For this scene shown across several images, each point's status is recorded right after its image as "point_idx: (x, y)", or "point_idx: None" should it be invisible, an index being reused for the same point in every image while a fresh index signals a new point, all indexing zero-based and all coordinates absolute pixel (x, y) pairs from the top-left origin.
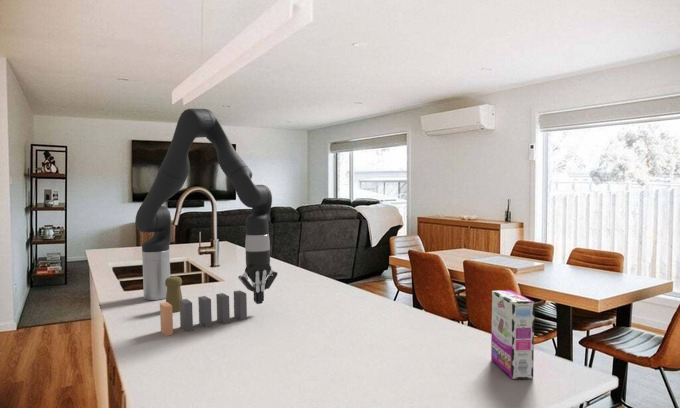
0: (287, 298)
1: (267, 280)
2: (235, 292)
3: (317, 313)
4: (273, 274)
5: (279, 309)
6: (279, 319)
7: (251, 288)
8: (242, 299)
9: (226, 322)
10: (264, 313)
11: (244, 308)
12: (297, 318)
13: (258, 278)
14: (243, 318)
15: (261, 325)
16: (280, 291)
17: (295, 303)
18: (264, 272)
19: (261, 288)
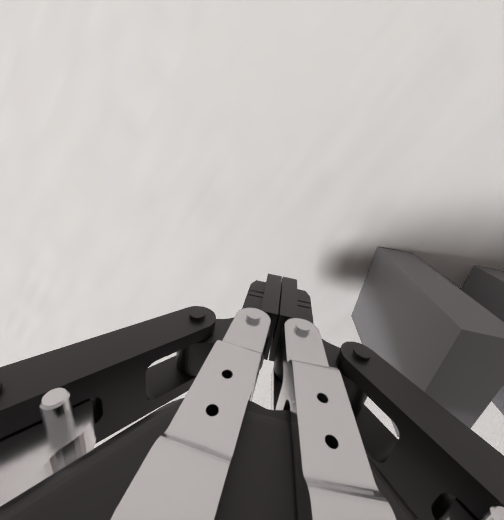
0: (68, 345)
1: (144, 394)
2: (471, 422)
3: (47, 30)
4: (25, 404)
5: (169, 255)
6: (269, 105)
7: (375, 367)
8: (471, 308)
9: (497, 271)
10: (255, 258)
11: (417, 272)
12: (184, 33)
13: (313, 436)
14: (400, 252)
15: (420, 82)
16: None
17: (70, 271)
18: (170, 518)
19: (264, 330)
